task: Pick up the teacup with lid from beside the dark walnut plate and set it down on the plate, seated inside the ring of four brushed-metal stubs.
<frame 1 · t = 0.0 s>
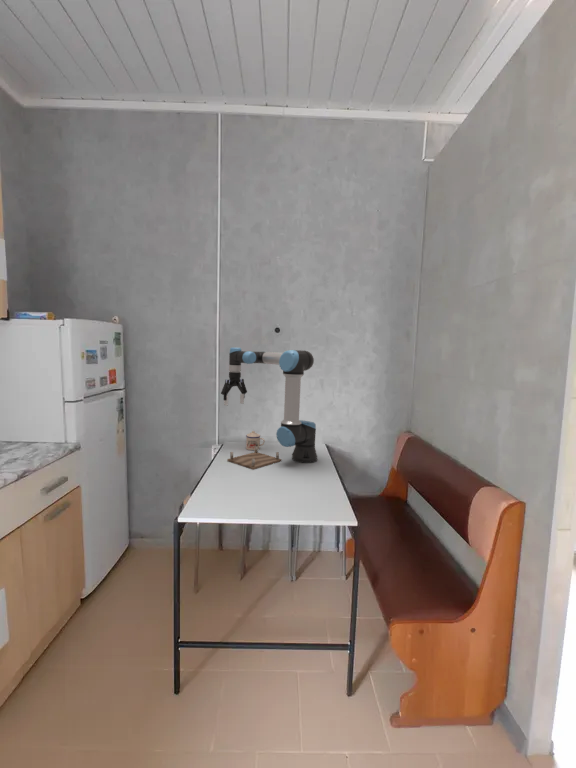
hand: (234, 404, 252), 28 cm above the table, tool pointing down, fingers open, 13 cm apart
stub plate: (254, 461, 225), on the table
teacup with lid: (255, 449, 252), on the table
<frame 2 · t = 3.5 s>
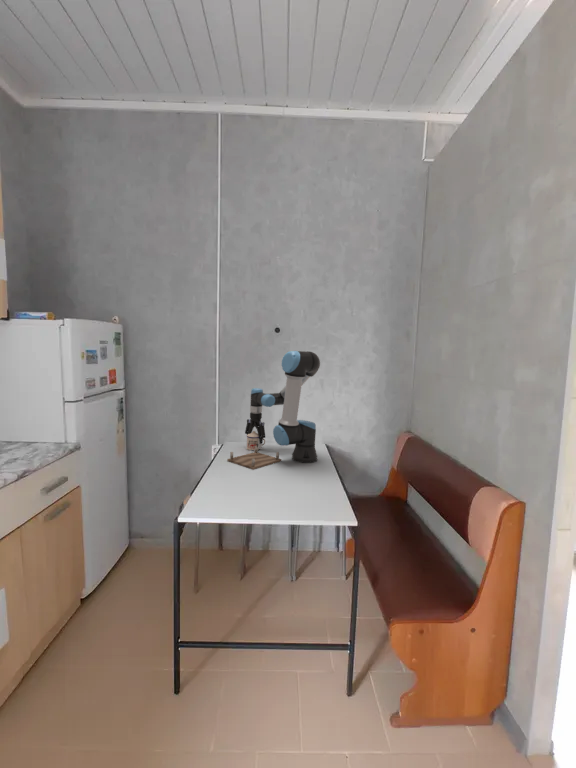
hand: (254, 446, 252), 1 cm above the table, tool pointing down, fingers closed on teacup with lid, 9 cm apart
teacup with lid: (255, 449, 251), on the table, touching gripper
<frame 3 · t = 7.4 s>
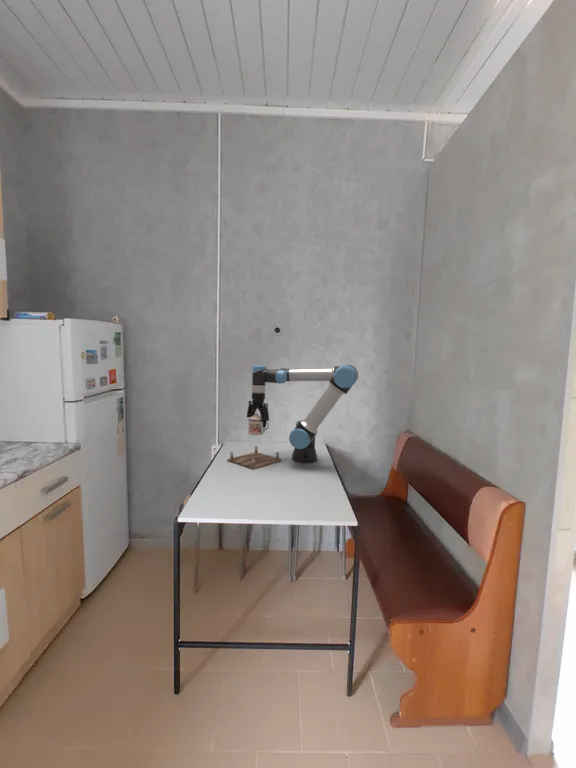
hand: (257, 431, 224), 17 cm above the table, tool pointing down, fingers closed on teacup with lid, 9 cm apart
teacup with lid: (258, 434, 224), point 16 cm above the table, touching gripper
when the fingers open (4 cm above the table, at t = 11.2 s): teacup with lid moves 4 cm, resting on stub plate.
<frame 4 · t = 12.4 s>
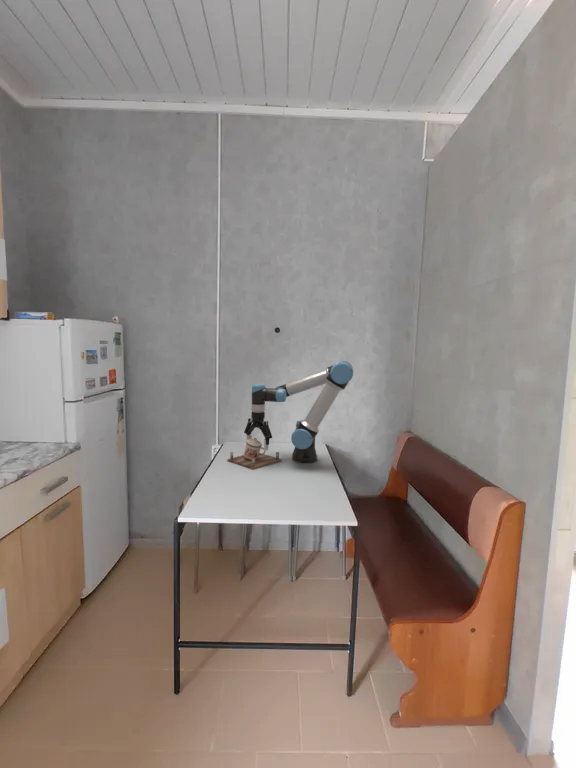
hand: (257, 448, 223), 8 cm above the table, tool pointing down, fingers open, 13 cm apart
teacup with lid: (253, 457, 226), point 2 cm above the table, touching stub plate
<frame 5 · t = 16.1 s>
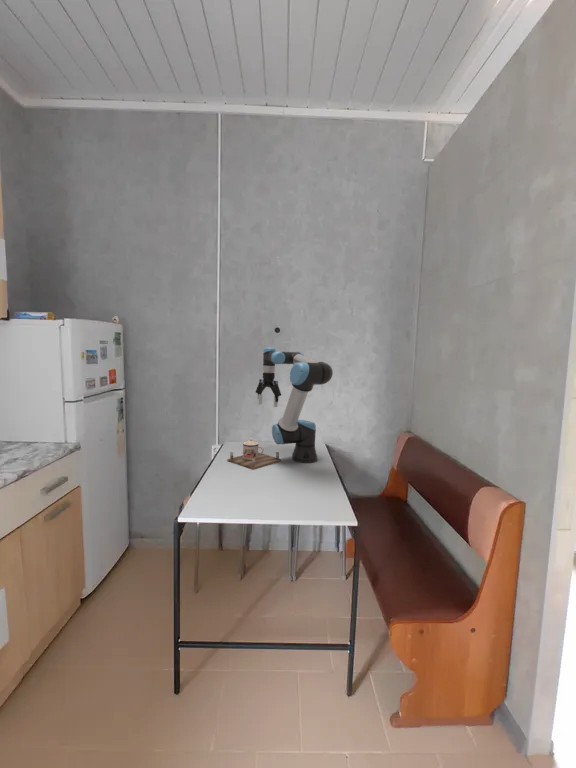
hand: (267, 405, 248), 29 cm above the table, tool pointing down, fingers open, 13 cm apart
at the end: teacup with lid inside the target area on the stub plate (1.5 cm from its centre), point 1.0 cm above the stub plate's base; teacup with lid tilted 0°; the gripper is holding nothing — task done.
